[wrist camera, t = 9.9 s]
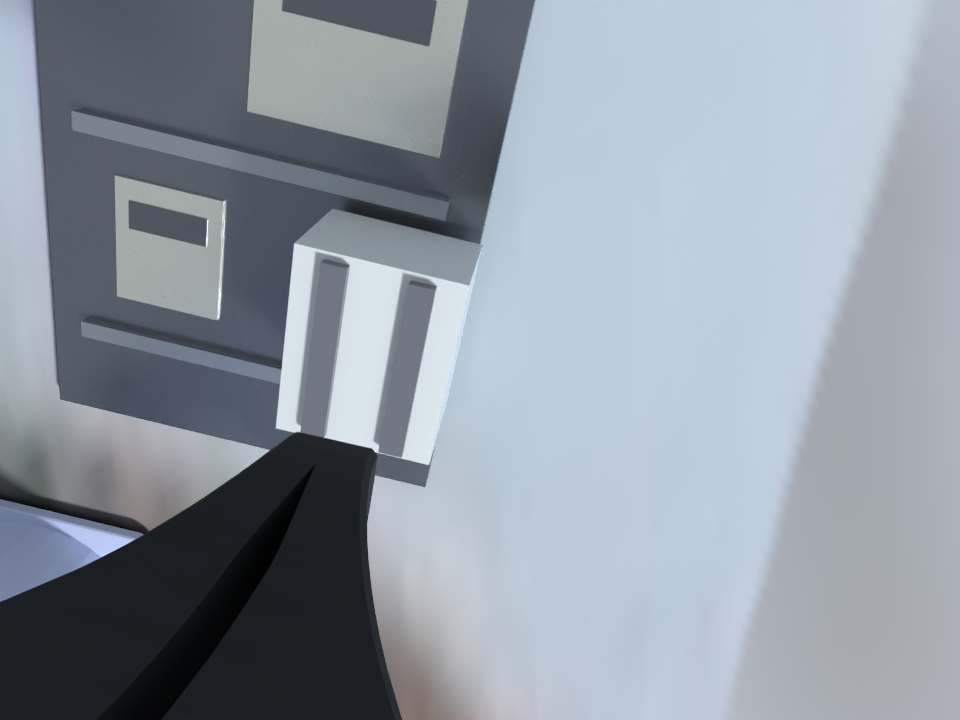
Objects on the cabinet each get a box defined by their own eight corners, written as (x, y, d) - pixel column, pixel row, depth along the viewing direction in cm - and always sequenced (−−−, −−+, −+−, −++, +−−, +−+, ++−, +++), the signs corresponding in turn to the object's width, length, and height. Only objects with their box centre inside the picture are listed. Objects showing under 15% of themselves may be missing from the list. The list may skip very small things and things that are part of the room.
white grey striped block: (445, 405, 21) (427, 470, 18) (312, 373, 21) (272, 433, 18) (482, 245, 19) (468, 289, 16) (332, 208, 19) (290, 246, 16)
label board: (427, 479, 23) (423, 492, 23) (67, 392, 23) (54, 403, 23) (554, -83, 16) (553, -87, 16) (32, -211, 16) (11, -219, 16)
